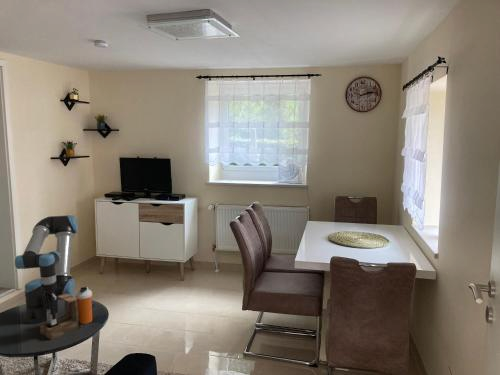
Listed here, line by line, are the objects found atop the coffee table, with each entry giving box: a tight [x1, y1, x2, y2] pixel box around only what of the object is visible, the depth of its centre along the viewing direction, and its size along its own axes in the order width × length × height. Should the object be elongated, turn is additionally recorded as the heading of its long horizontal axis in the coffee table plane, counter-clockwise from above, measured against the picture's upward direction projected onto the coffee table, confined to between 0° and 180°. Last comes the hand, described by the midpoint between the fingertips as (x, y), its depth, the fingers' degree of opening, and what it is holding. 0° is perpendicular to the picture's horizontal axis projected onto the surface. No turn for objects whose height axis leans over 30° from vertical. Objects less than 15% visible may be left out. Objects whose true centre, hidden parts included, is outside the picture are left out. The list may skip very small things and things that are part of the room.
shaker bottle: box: [75, 286, 93, 325], centre depth 239 cm, size 9×9×20 cm
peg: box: [47, 308, 56, 328], centre depth 225 cm, size 4×4×12 cm
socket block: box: [39, 293, 80, 341], centre depth 228 cm, size 12×16×18 cm
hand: (52, 323), depth 226 cm, fingers closed on peg, 3 cm apart
